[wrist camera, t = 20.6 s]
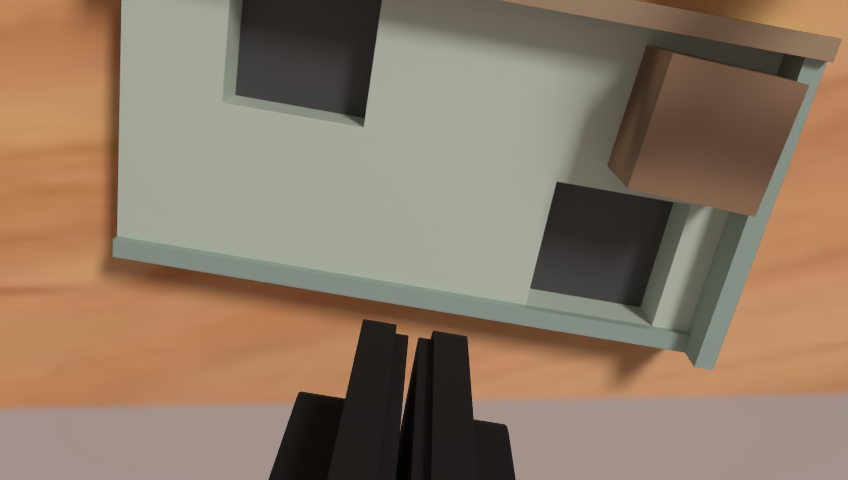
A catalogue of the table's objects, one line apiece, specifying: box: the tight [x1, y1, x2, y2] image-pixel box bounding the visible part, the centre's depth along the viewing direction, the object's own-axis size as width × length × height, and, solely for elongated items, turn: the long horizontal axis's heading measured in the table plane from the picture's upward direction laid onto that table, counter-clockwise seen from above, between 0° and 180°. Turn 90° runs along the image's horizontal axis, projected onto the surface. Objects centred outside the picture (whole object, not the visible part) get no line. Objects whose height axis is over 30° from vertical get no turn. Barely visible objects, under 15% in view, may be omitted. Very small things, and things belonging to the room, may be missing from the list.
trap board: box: [113, 0, 842, 370], centre depth 35 cm, size 17×32×5 cm, turn 80°
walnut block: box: [607, 45, 809, 217], centre depth 32 cm, size 6×6×4 cm
